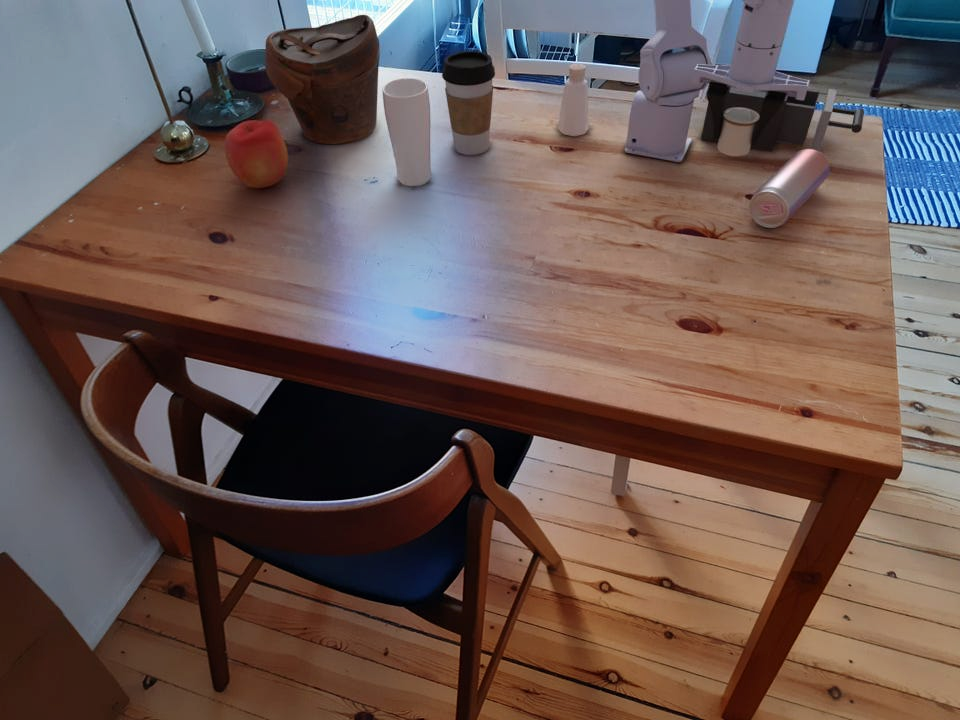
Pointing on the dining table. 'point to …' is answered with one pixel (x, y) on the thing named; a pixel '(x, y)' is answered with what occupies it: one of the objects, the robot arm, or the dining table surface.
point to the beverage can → (789, 188)
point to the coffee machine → (753, 103)
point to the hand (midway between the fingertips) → (735, 139)
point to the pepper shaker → (575, 103)
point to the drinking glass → (409, 128)
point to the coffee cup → (469, 99)
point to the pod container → (737, 131)
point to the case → (328, 77)
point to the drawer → (801, 115)
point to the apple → (256, 153)
